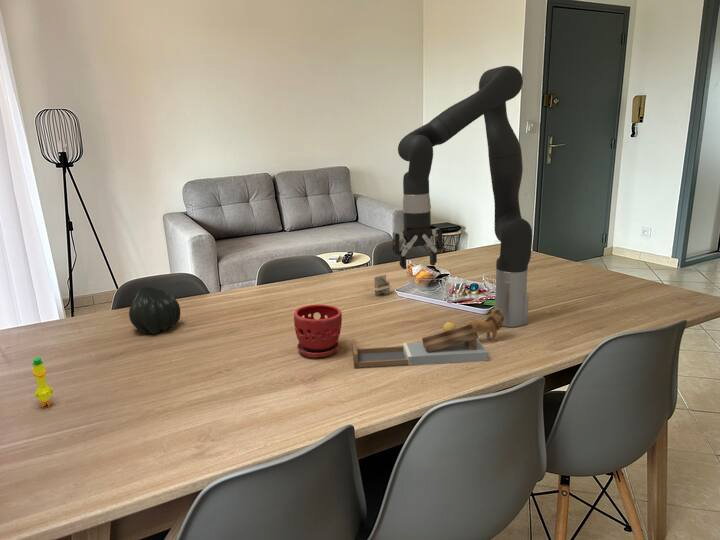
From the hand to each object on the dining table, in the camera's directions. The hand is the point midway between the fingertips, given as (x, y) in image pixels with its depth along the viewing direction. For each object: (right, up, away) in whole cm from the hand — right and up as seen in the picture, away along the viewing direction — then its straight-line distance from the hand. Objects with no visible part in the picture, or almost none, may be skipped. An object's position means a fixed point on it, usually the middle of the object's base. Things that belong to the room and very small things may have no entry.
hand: (418, 266), depth 154 cm
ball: (+9, -17, +1) cm, 20 cm away
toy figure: (-90, -33, -26) cm, 99 cm away
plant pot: (-28, -24, -1) cm, 37 cm away
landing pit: (-11, -25, -8) cm, 29 cm away
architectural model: (-8, -11, +47) cm, 49 cm away
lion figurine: (+19, -21, +2) cm, 29 cm away
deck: (+6, -24, -7) cm, 26 cm away
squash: (-81, -20, +20) cm, 86 cm away
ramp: (+8, -22, -8) cm, 24 cm away
